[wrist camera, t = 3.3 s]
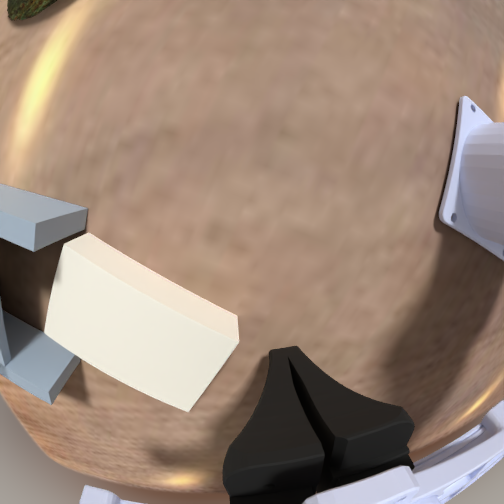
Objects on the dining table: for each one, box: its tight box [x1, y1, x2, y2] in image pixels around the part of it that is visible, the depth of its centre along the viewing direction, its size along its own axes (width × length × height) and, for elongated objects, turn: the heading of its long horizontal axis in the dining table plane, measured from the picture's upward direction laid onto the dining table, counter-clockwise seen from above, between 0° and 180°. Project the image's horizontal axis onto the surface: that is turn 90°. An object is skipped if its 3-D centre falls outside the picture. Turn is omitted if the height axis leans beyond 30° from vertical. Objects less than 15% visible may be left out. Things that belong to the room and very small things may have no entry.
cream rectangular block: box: [44, 233, 239, 412], centre depth 11 cm, size 8×5×3 cm, turn 59°
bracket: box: [0, 184, 88, 405], centre depth 9 cm, size 8×9×4 cm
